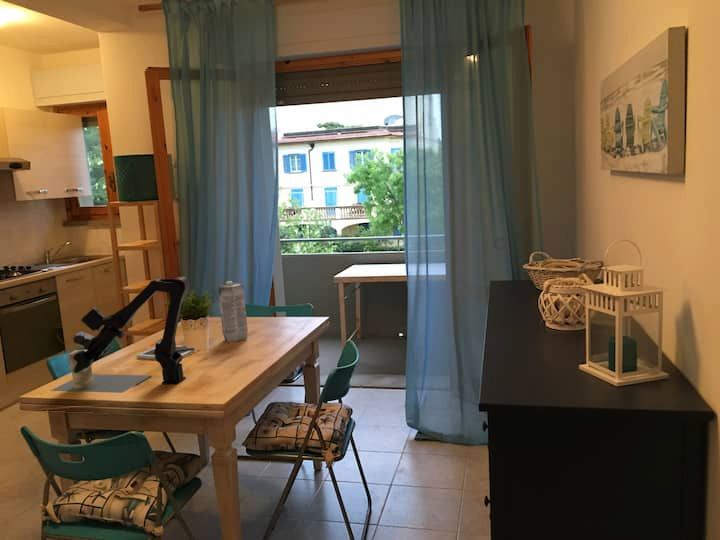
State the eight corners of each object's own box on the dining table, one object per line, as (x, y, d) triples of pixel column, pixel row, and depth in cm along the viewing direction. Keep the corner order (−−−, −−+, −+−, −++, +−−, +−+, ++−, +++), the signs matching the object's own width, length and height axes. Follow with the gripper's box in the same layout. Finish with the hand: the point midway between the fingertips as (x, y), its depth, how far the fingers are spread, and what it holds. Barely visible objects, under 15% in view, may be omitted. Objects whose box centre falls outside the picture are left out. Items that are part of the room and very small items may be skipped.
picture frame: (199, 351, 261) (161, 349, 268) (199, 345, 260) (161, 343, 268) (176, 362, 246) (136, 359, 254) (175, 356, 246) (136, 353, 254)
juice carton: (249, 339, 272) (244, 281, 268) (226, 343, 268) (220, 284, 264) (244, 335, 280) (239, 279, 276) (222, 339, 276) (216, 282, 272)
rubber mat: (151, 376, 228) (151, 375, 228) (122, 394, 211) (122, 392, 211) (84, 375, 235) (83, 373, 235) (50, 392, 218) (50, 390, 218)
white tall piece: (93, 382, 223) (88, 349, 221) (88, 387, 218) (82, 353, 216) (80, 383, 223) (74, 350, 221) (74, 388, 218) (68, 354, 216)
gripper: (97, 318, 226) (71, 348, 228) (75, 331, 208) (47, 364, 209) (120, 337, 228) (95, 367, 229) (100, 351, 209) (73, 383, 211)
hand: (78, 369), depth 220 cm, fingers closed on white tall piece, 5 cm apart
